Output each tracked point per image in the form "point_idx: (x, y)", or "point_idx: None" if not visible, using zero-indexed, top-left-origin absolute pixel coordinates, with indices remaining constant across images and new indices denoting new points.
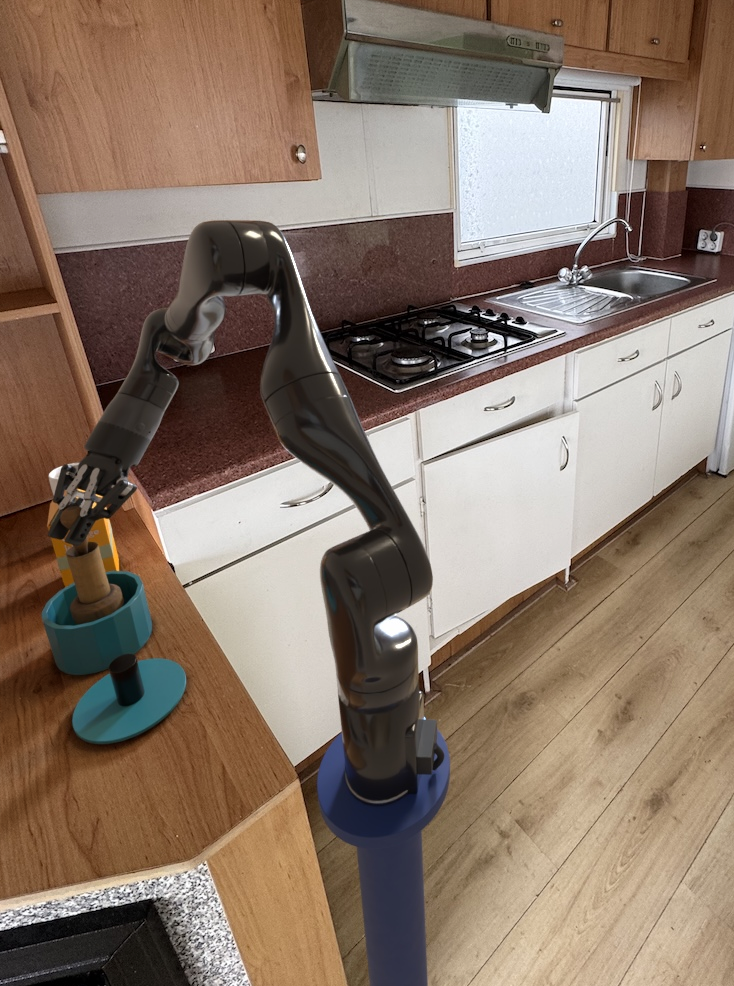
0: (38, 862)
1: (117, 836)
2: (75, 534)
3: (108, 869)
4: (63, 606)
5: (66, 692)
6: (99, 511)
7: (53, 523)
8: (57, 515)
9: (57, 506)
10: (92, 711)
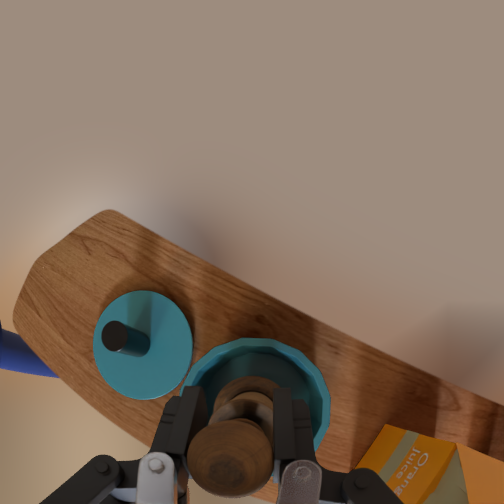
0: (106, 221)
1: (72, 252)
2: (176, 410)
3: (66, 237)
4: (315, 391)
5: (224, 329)
6: (87, 466)
7: (290, 416)
8: (310, 445)
9: (473, 473)
10: (160, 315)
